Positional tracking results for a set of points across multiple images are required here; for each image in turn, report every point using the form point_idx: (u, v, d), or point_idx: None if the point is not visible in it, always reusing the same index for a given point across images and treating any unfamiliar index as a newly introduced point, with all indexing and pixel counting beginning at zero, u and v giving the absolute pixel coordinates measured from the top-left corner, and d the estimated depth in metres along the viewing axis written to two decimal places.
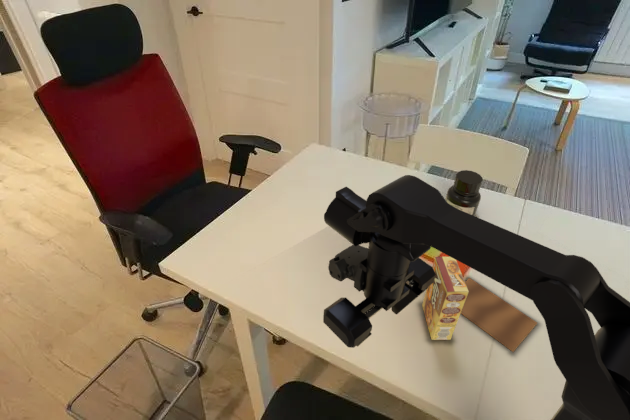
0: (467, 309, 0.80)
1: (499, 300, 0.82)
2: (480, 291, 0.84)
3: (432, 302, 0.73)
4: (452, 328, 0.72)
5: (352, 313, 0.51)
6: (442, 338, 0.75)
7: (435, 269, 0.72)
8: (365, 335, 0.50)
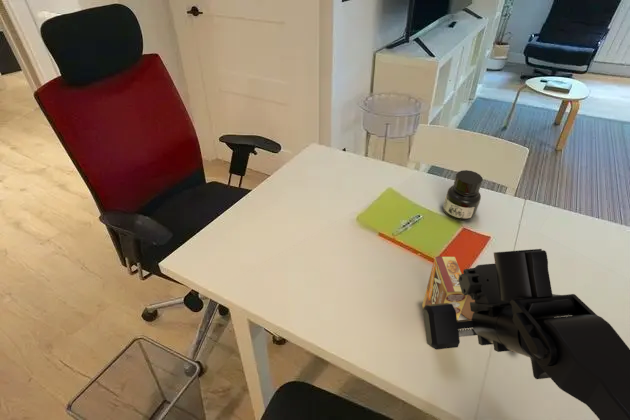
0: (467, 309, 0.80)
1: None
2: None
3: (432, 302, 0.73)
4: None
5: (450, 329, 0.54)
6: None
7: (435, 269, 0.72)
8: None
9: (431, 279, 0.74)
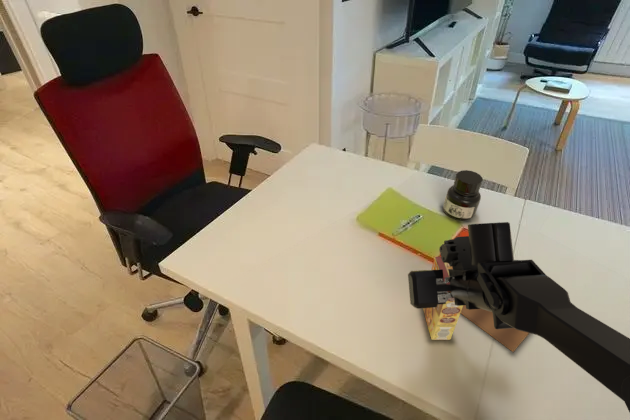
0: (467, 309, 0.80)
1: None
2: None
3: None
4: (452, 328, 0.72)
5: (430, 291, 0.62)
6: (442, 338, 0.75)
7: (435, 269, 0.72)
8: None
9: None
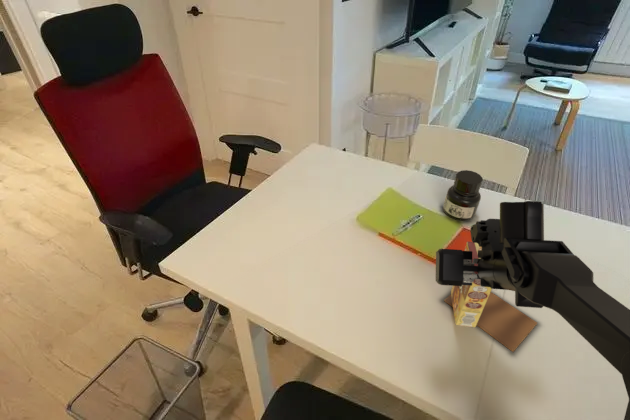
0: None
1: (499, 300, 0.82)
2: None
3: (460, 287, 0.73)
4: (478, 315, 0.72)
5: (456, 269, 0.63)
6: (467, 324, 0.74)
7: None
8: None
9: None
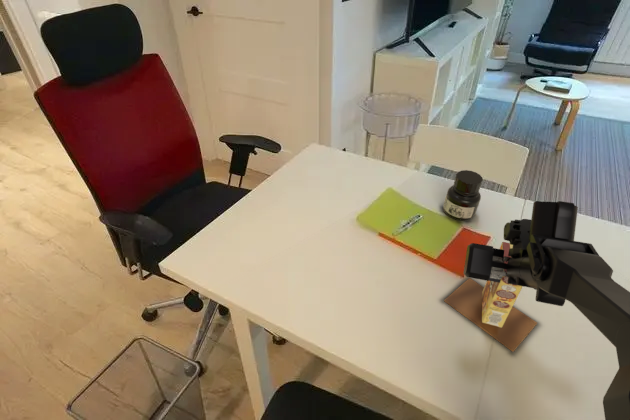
0: (467, 309, 0.80)
1: None
2: (480, 291, 0.84)
3: (490, 285, 0.75)
4: (505, 315, 0.73)
5: (484, 264, 0.65)
6: (493, 323, 0.75)
7: None
8: None
9: None
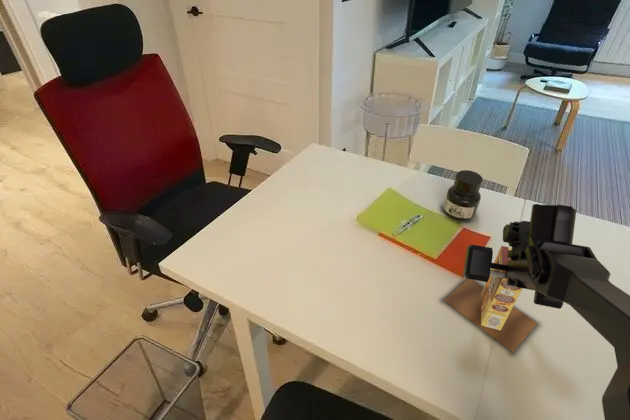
0: (467, 309, 0.80)
1: None
2: (480, 291, 0.84)
3: (489, 289, 0.75)
4: (504, 318, 0.74)
5: (483, 266, 0.65)
6: (492, 327, 0.76)
7: (498, 257, 0.74)
8: None
9: None
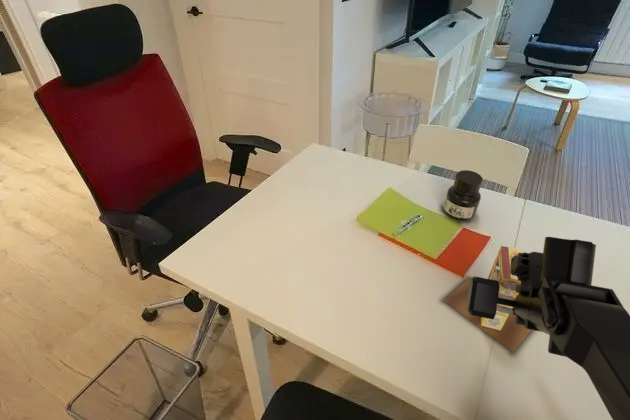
0: None
1: None
2: None
3: None
4: (504, 318, 0.74)
5: (489, 301, 0.59)
6: (492, 327, 0.76)
7: (498, 257, 0.74)
8: None
9: (493, 267, 0.76)
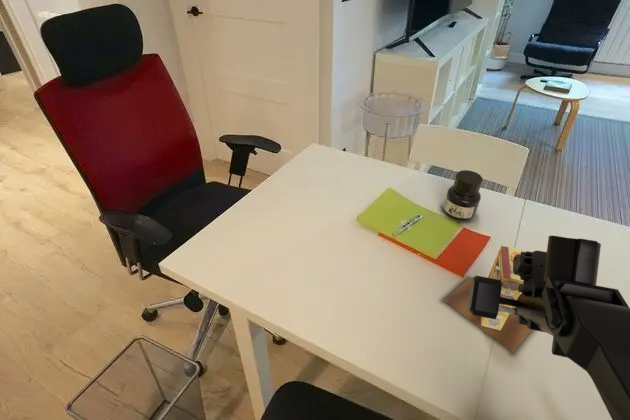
0: (467, 309, 0.80)
1: None
2: None
3: None
4: (504, 318, 0.74)
5: (491, 301, 0.58)
6: (492, 327, 0.76)
7: (498, 257, 0.74)
8: None
9: (493, 267, 0.76)
